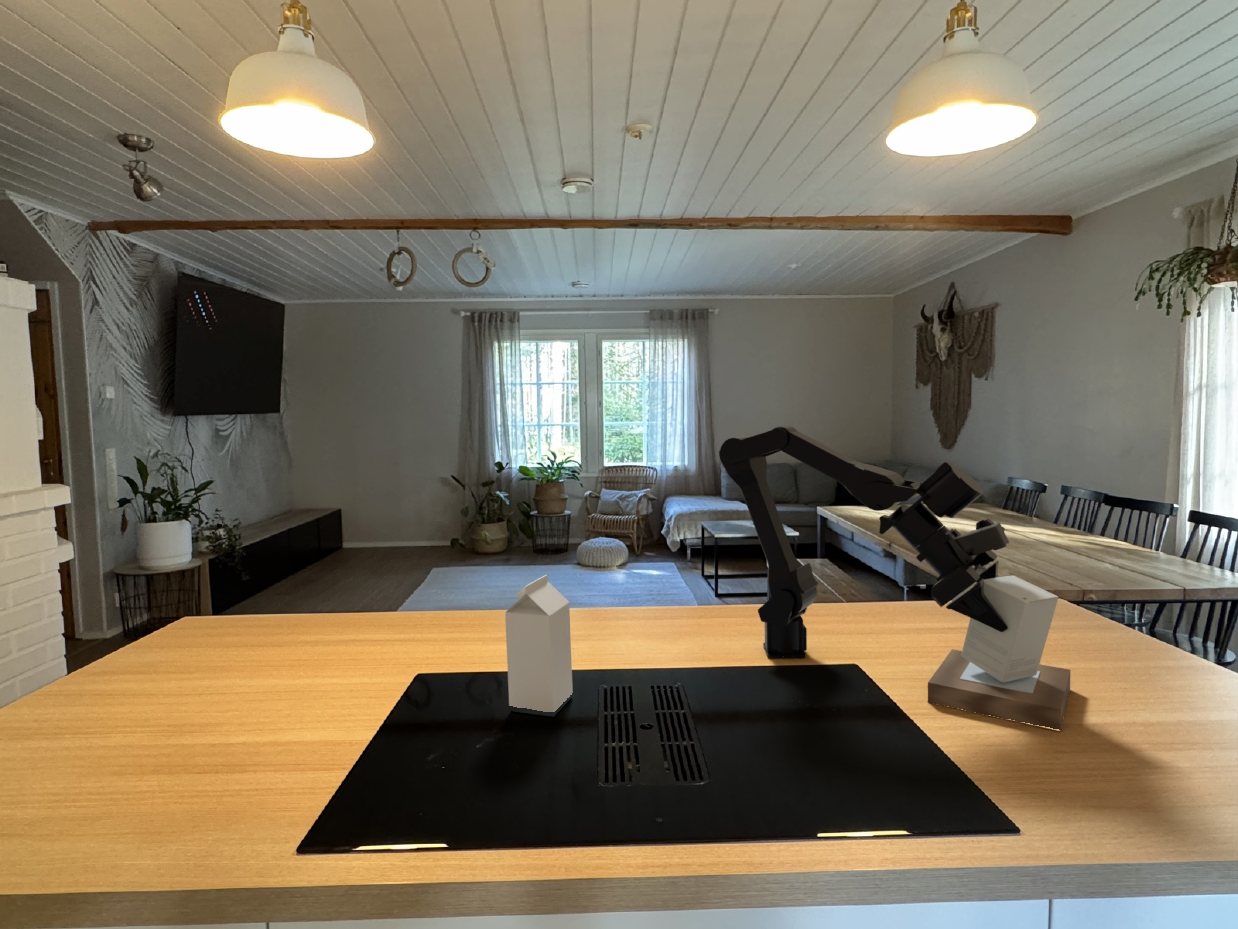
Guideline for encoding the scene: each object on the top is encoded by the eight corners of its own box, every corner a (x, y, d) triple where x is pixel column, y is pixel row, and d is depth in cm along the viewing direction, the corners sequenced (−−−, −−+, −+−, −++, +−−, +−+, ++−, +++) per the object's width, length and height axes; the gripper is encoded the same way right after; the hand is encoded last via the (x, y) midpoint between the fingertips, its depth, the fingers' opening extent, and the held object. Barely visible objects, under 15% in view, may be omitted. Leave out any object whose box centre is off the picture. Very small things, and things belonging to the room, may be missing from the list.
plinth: (927, 702, 96) (927, 681, 96) (951, 667, 109) (952, 648, 109) (1060, 732, 87) (1060, 708, 86) (1070, 689, 99) (1070, 668, 99)
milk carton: (573, 698, 102) (568, 575, 100) (553, 719, 95) (548, 587, 94) (531, 693, 104) (525, 573, 103) (509, 713, 97) (503, 585, 96)
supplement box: (1037, 676, 96) (1062, 597, 93) (1001, 684, 93) (1025, 602, 90) (993, 649, 103) (1014, 573, 99) (958, 655, 100) (978, 578, 96)
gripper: (958, 511, 91) (1052, 604, 85) (983, 495, 105) (1064, 574, 100) (896, 561, 96) (981, 652, 90) (928, 539, 111) (1002, 616, 105)
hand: (1010, 621), depth 96 cm, fingers closed on supplement box, 9 cm apart
